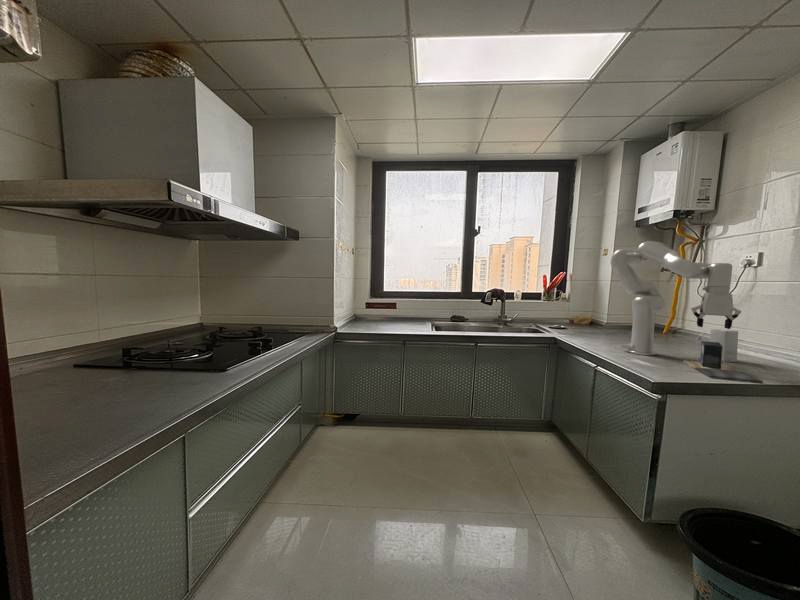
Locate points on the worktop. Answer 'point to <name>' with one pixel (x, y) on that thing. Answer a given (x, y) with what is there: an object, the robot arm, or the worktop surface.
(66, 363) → the worktop surface
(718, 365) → the small box
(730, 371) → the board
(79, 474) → the worktop surface
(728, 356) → the skincare box
